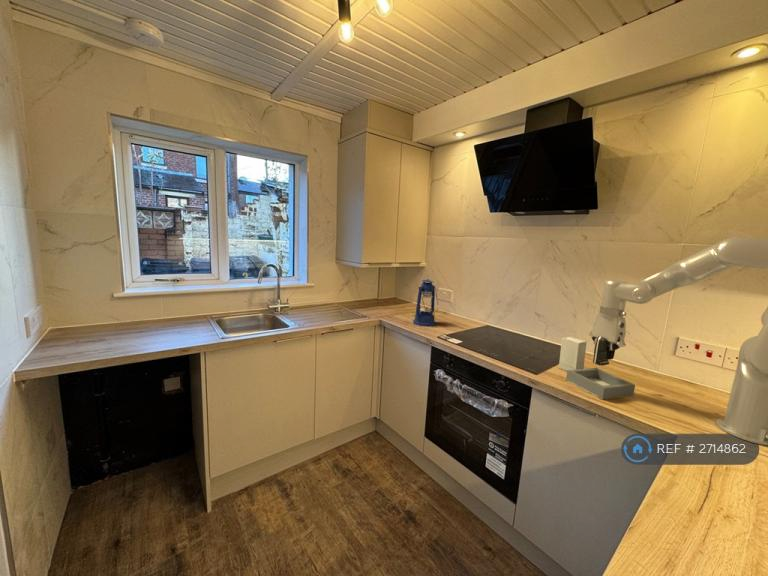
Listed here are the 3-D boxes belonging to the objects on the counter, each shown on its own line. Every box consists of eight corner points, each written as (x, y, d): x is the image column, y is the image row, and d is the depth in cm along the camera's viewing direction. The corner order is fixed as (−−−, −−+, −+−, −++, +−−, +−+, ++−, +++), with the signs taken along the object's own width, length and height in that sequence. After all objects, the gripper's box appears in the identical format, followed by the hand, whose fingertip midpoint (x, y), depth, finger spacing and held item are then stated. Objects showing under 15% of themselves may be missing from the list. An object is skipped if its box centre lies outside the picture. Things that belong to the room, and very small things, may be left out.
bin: (633, 395, 119) (635, 384, 118) (602, 399, 114) (604, 388, 113) (594, 377, 134) (596, 367, 133) (565, 380, 129) (567, 370, 128)
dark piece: (601, 367, 119) (606, 339, 117) (591, 363, 123) (596, 336, 121) (612, 365, 122) (617, 337, 120) (602, 361, 126) (607, 334, 124)
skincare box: (583, 373, 137) (588, 341, 135) (574, 375, 135) (580, 343, 133) (565, 366, 145) (570, 335, 143) (557, 367, 142) (561, 337, 140)
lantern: (424, 319, 218) (427, 277, 214) (441, 324, 207) (445, 280, 202) (407, 322, 207) (410, 278, 202) (423, 327, 196) (427, 281, 191)
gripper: (641, 317, 112) (632, 364, 115) (598, 307, 128) (590, 348, 131) (626, 317, 110) (617, 366, 113) (584, 307, 126) (577, 349, 129)
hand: (603, 356), depth 122 cm, fingers closed on dark piece, 4 cm apart
